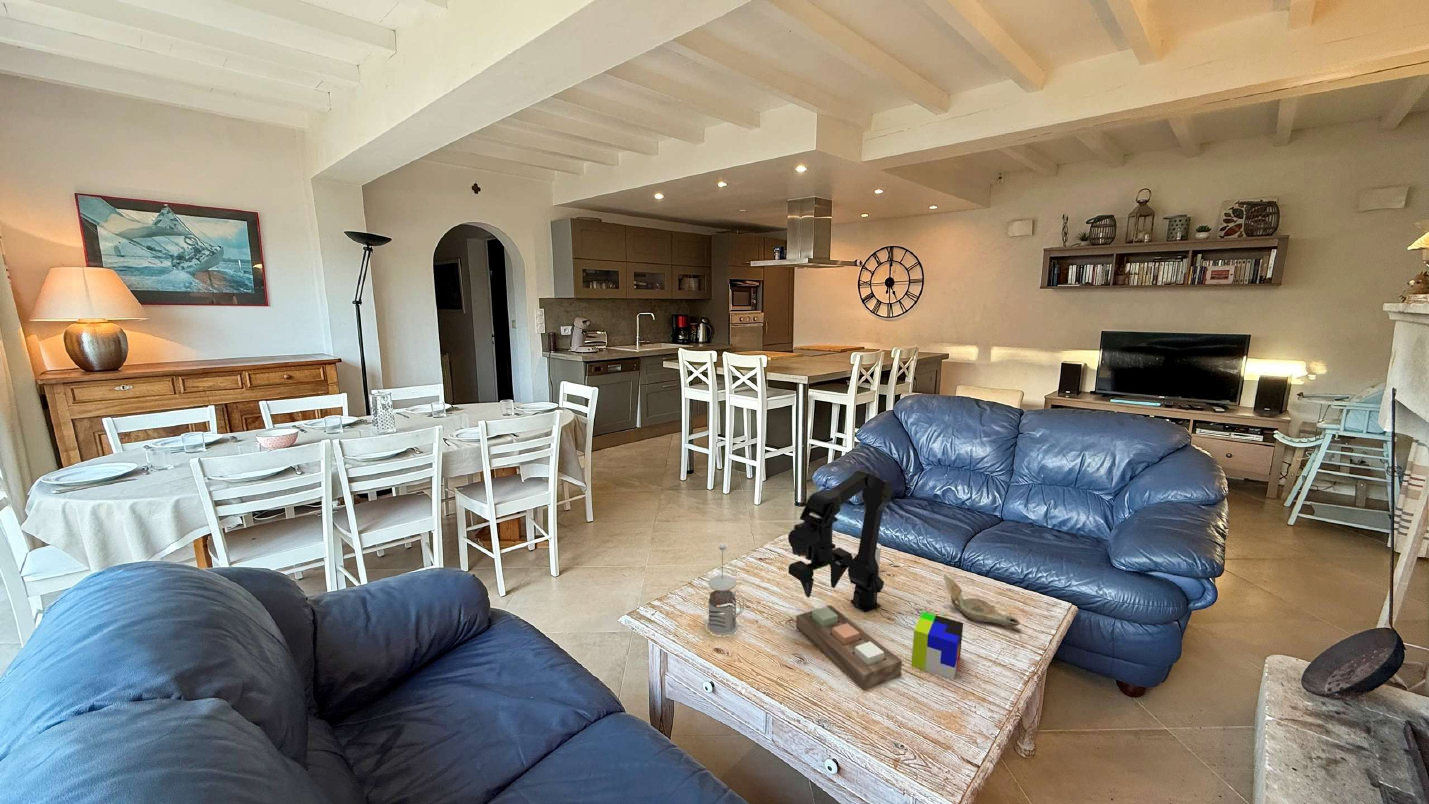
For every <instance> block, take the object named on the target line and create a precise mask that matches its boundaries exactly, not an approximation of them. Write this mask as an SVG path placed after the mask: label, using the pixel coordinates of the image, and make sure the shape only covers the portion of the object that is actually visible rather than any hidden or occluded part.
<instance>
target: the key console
mask: <svg viewBox="0 0 1429 804" xmlns="http://www.w3.org/2000/svg"><path fill="white" fill-rule="evenodd" d="M824 607H825V606H824ZM824 607H821V608H824ZM826 607H828V608H829V609H830V610H831V611H833V612H834V613H835V614H836V615H838V623H836V624H832V625H829V626H826V627H823V628H822V627H821V626H820V625H819V624H818V623H817V622H815V621H814V620H813V619H812V611H814V610H815V609H814V610H810V611H807V612H803V613H801V614H797V615H796V620H795V621H796V622H795V629H796V630H797V631H798V632H800V634H801V635H802V636H804V637H805V638H806V639H807V640H808V641H809V642H811V644H812V645H813V646H814V647H816V649H818V650H819V652H821V653H822V654H823V655H824V656H825V657H826V658H827V659H829V660H830V661H831V663H833V664H834V665H835V666H836V667H837V668H838V669H840V670H841V671H842V672H843V673H844V674H845V675H846V676H848V678H849V679H851V680H852V681H853V683H854V684H856V685H857V686H858V687H859V688H860V689H861V690H862V691H864V690H867V689H869V688H872V687H874V686H877V685H880V684H882V683H885V682H887V681H890V680H893V679H895V678H897V677H900V676H902V667H903V664H902V663H903V661H902V659H900V658H899V657H898V656H896V655H895V654H894V653H893V652H891V651H890V650H889V649H887V648H886V646H884V645H882V644H881V643H880V642H879V641H877V640H876V639H874V637H872V636H871V635H870V634H869V633H867V632H865V630H863V629H862V628H861V627H859V626H858V625H856V623H854V622H853V621H852V620H850V619H849V618H848V617H847V616H845V615H844V614H843V613H841V612H840V611H839V609H836V608H835V607H834V606H832V605H827V606H826ZM821 608H819V609H821ZM846 623H848V624H849V625H850V626H852V627H853V628H854V629H855V630H857V631H858V632H859V633H860V639H859V641H857V642H854V643H851V644H848V645H845V646H843V645H842V644H841V643H840V642H839V641H838V640H836V639H835V638H834V637H833V636H832V628H834V627H837V626H840V625H843V624H846ZM870 641H871V642H872V643H873V644H874V645H876V646H877V647H878V648H879V649H881V650H882V651H883V652H884V661H881V662H879V663H876V664H873V665H871V666H867V665H866V664H865V663H863V662H862V661H861V660H860V659H859V658H857V657H856V656H855V655H854V654H855V646H858V645H861V644H864V643H867V642H870Z"/></svg>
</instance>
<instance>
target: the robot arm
mask: <svg viewBox="0 0 1429 804" xmlns="http://www.w3.org/2000/svg"><path fill="white" fill-rule="evenodd" d="M860 493H861V498H862V501H863V503H864V505H865V509H864V516H863V521H862V527H861V533H860V539H859V545H858V550H857V554H855V556H853V555H852V553H851V552H849V551H847V550H845V549H843V548H842V547H836V544H835V543H833V533H834V532H833V528H834V527H833V525H834V523H837V522H838V521H839V520H838V517H836V516H837V515H838V514H839V513H840V511H841V508H842V505H843V504H845V503H846V502H847V501H848V500H850V499H852V498H853V497H854V496H855V497H856V495H858V494H860ZM893 495H894V485H892V483H891V482H890V481H889V480H884V479H881V478H879V477H877V476H876V475H875V474H873V473H871V472H869V471H866V470H865V471H864V470H855V472H854V473H853V474H852V475H851V476H849V477H848V478H846V479H844V480H843V481H841V482H840V483H839V484H837V485H835V486H834V487H831V489H823V490H818V491H816V492H814V493H812V494H811V495H810V496H809V498H808V499H807V502H806V504H805V506H804V508H803V510H802V513H801V514H800V517H799V520H801V521H802V522H801V523H797V524H794V528H793V529H791V530H790V531H789V533H788V536H787V540H788V542H789V543H788V544H789V545H790V546H791V550H792V554H793V555H795V556H798V557H805V560H807V561H810V563H805V562H804V561H802V560H798V561H795V562H792V563H790V564H789V565H788V574H789V575H790V576H792V577H794V578H795V579H796V580H798V581H800V583H801V587H802V589H803V592H804V594H805V597H807V598H808V599H810V597H811V594H812V590H813V586H814V581H815V578H814V573H815V572H814V571H817V570H819V569H823V568H825V567H827V566H829V568H830V586H831V588H833V589H835V588H836V586H837V585H838V583H839V582H840V580H841V578H842V576H843V575H844V573H845V572H846V571H847V572H848V573H847V576H848V577H849V583H850V584H853V585H854V590H853V599H851V600H850V603H851V604H853V605H854V606H855V607H856V608H858V609H859V610H860V611H862V612H864V613H865V612H866V613H867V612H869V611H872V610H875V609H878V608H881V604H879V603H878V593H879V594H880V593H881V592H882V590H883V588H884V586H885V585H884V584H885V582H884V580H883V579H882V578H881V577H880V576H879V573H878V571H879V572H880V566H879V567H878V564H877V561H876V559H875V553H876V547H877V543H878V539H879V536H880V530H881V529H880V528H881V523H882V518H883V517H882V516H883V512H884V509H885V508H886V507H887V506H888V505H889V504H890V502H891V500H892V496H893ZM811 514H812V515H811ZM813 515H816V516H818V517H816V516H813Z"/></svg>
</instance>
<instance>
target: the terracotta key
mask: <svg viewBox="0 0 1429 804" xmlns="http://www.w3.org/2000/svg"><path fill="white" fill-rule="evenodd" d="M832 636H833V637H834V638H835V639H836V640H838V641H839V642H840V643H841V644H842V645H843V646H845V645H848V644H851V643H854V642H857V641H859V639H860V633H859V632H858V631H857V630H855V629H854V628H853V627H852V626H850V625H849V624H848V623H846V624H843V625H840V626H837V627H834V628H832Z"/></svg>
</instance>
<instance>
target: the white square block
mask: <svg viewBox="0 0 1429 804" xmlns="http://www.w3.org/2000/svg"><path fill="white" fill-rule="evenodd" d="M854 655H855V656H856V657H857V658H859V659H860V660H861V661H862V662H863V663H865V664H866V665H867V666H871V665H873V664H876V663H879V662H881V661H884V652H883V651H882V650H881V649H879V648H878V647H877V646H876V645H874V644H873V643H872V642H871V641H870V642H867V643H864V644H861V645H858V646H855V654H854Z"/></svg>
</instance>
